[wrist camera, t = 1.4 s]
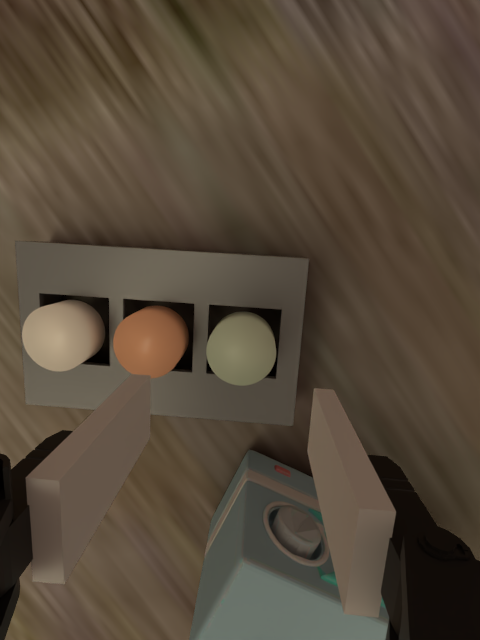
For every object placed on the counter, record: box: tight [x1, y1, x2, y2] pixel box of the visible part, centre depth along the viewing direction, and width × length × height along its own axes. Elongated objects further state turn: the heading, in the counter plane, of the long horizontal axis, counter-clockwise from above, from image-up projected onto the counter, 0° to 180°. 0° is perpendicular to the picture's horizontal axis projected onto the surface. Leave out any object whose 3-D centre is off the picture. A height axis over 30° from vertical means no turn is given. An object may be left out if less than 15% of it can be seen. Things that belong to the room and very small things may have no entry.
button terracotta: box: [113, 305, 189, 378], centre depth 24 cm, size 4×4×2 cm
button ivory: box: [22, 300, 105, 372], centre depth 24 cm, size 4×4×2 cm
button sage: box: [206, 311, 276, 386], centre depth 24 cm, size 4×4×2 cm
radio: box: [189, 450, 389, 640], centre depth 22 cm, size 16×9×20 cm, turn 65°
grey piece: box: [15, 241, 309, 426], centre depth 27 cm, size 20×12×4 cm, turn 87°
